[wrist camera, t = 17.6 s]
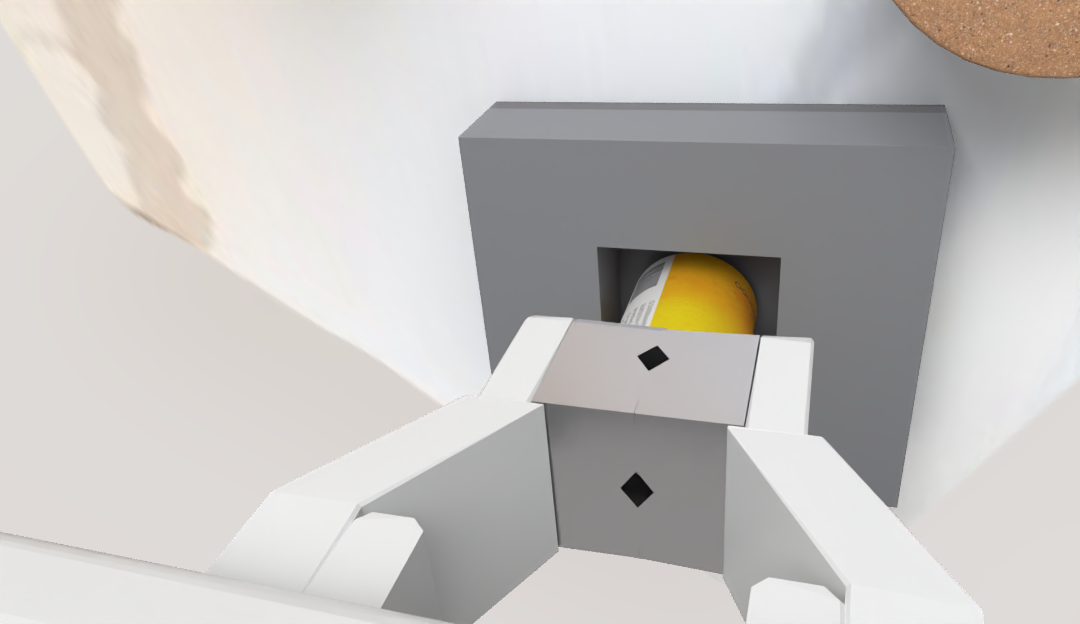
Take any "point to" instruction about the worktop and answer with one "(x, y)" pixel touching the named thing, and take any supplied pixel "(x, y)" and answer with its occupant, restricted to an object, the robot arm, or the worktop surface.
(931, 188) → the can dock
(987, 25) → the lidded bowl
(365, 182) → the worktop surface
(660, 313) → the beer can
